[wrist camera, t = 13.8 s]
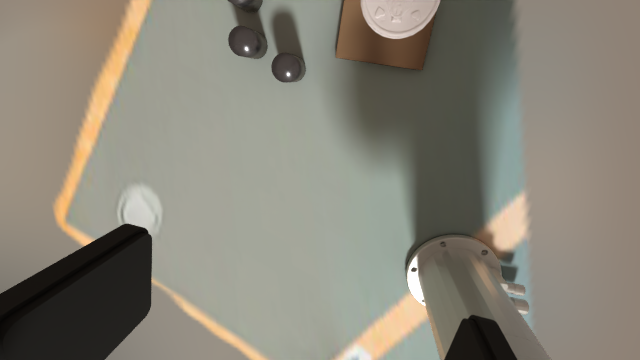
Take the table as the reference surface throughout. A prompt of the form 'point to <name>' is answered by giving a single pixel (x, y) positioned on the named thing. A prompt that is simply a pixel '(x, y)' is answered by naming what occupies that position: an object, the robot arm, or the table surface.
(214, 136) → the table surface
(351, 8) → the walnut pad
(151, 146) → the table surface
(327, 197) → the table surface
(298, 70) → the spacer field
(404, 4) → the smoothie
